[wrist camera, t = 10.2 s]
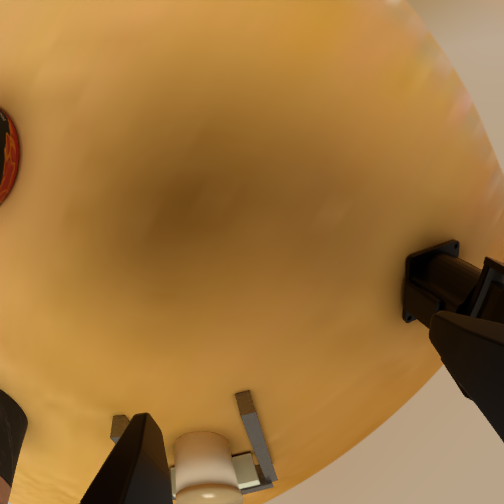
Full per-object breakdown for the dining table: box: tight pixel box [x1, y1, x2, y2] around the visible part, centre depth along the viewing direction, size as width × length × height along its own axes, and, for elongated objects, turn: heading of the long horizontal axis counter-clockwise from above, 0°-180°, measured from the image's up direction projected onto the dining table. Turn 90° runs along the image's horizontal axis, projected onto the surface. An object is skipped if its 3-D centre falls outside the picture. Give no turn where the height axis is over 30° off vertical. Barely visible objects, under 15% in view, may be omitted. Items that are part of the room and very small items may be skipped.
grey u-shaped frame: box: [110, 391, 278, 500], centre depth 24 cm, size 12×15×3 cm
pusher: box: [171, 453, 260, 497], centre depth 25 cm, size 9×6×4 cm, turn 101°
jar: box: [173, 432, 244, 504], centre depth 22 cm, size 6×6×7 cm
